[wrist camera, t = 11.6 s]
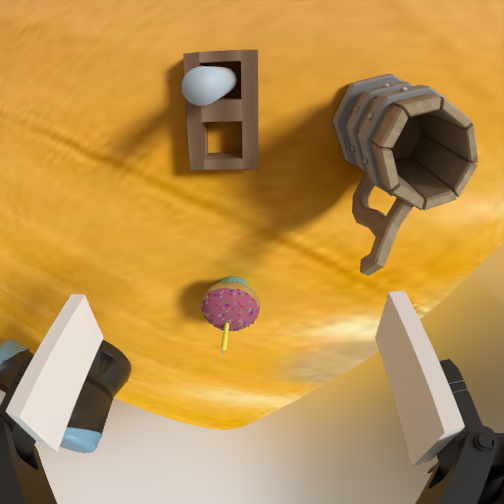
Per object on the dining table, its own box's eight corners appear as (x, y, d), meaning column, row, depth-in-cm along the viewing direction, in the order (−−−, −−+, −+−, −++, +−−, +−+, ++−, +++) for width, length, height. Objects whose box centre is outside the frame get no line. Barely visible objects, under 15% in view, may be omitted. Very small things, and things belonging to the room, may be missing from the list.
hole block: (195, 162, 39) (190, 170, 37) (189, 54, 32) (183, 53, 29) (258, 161, 39) (257, 169, 36) (257, 51, 31) (257, 49, 29)
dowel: (211, 93, 34) (182, 107, 23) (210, 67, 33) (180, 68, 21) (238, 92, 34) (223, 104, 22) (237, 66, 33) (222, 65, 21)
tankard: (361, 58, 31) (415, 57, 18) (440, 109, 33) (510, 139, 21) (293, 194, 41) (305, 258, 29) (371, 229, 43) (407, 298, 31)
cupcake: (253, 311, 52) (251, 370, 42) (202, 302, 52) (190, 359, 42) (265, 270, 48) (264, 329, 38) (208, 260, 47) (194, 317, 37)
